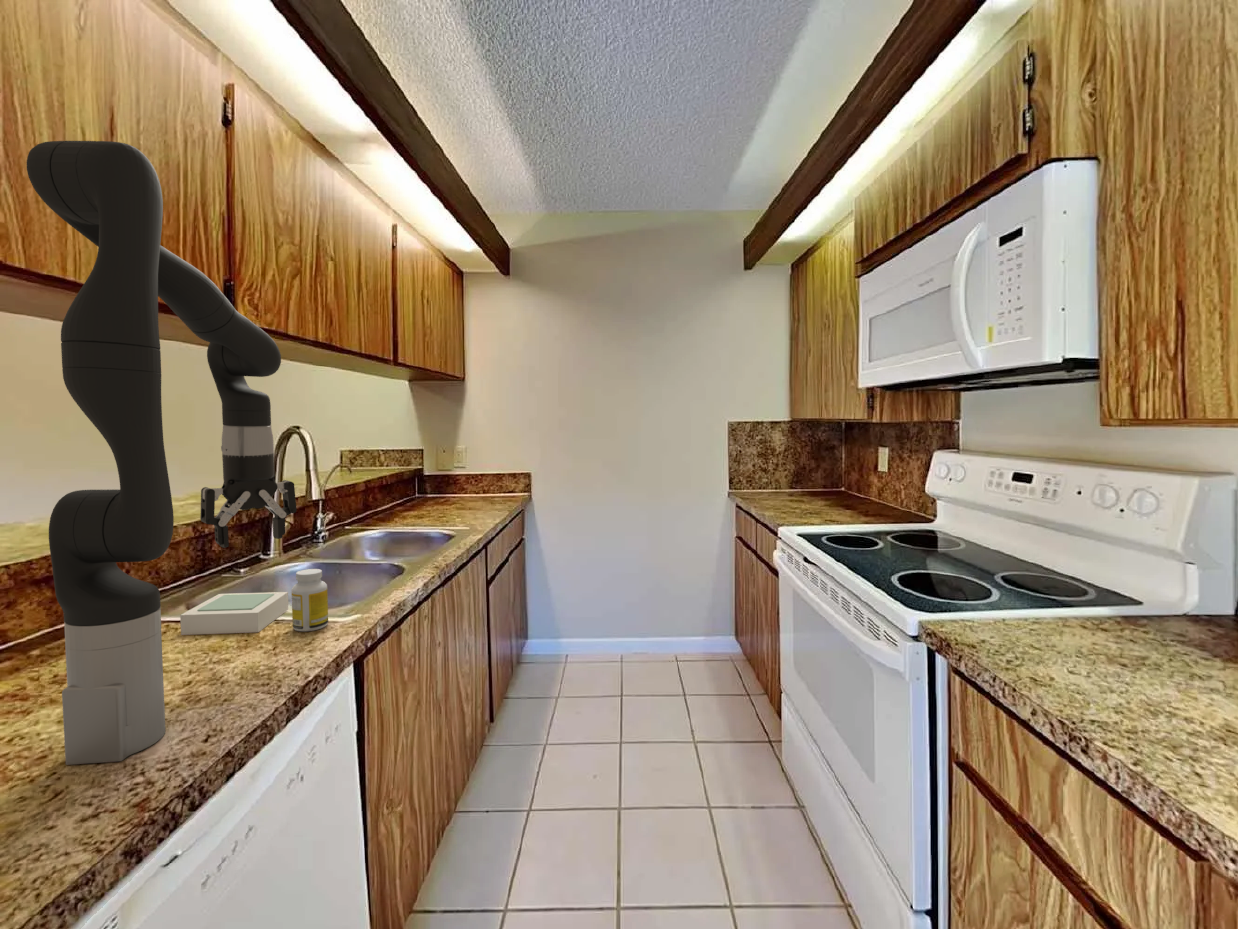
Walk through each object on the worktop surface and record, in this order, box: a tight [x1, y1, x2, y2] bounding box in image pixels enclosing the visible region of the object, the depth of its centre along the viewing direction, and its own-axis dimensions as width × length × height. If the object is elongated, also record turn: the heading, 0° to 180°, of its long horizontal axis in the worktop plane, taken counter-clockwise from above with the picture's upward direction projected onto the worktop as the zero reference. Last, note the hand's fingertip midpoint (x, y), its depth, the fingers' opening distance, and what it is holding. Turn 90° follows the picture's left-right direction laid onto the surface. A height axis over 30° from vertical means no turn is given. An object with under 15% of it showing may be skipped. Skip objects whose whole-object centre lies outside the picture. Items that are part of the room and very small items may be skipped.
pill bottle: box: [291, 568, 329, 632], centre depth 116 cm, size 6×6×12 cm
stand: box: [179, 591, 289, 636], centre depth 118 cm, size 14×14×4 cm
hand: (252, 542), depth 100 cm, fingers open, 8 cm apart
